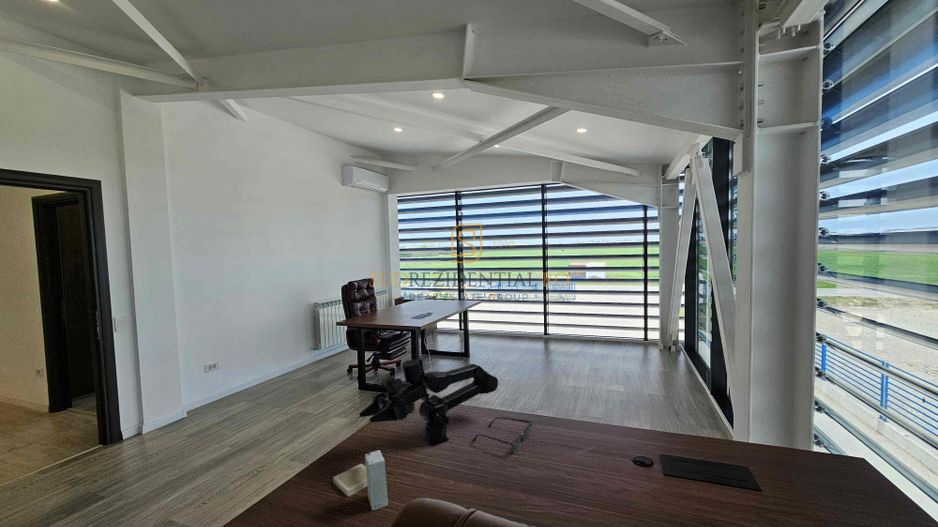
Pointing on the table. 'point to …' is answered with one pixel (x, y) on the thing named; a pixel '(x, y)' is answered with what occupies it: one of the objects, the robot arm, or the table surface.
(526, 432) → the sunglasses
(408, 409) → the supplement bottle
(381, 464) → the skincare box
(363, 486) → the plinth
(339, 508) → the table surface
